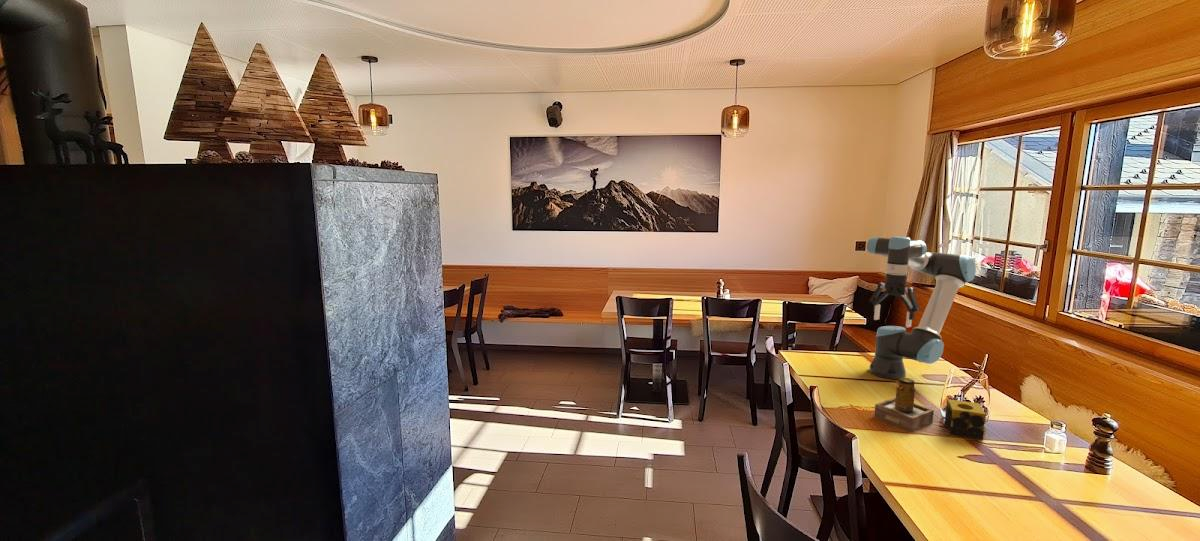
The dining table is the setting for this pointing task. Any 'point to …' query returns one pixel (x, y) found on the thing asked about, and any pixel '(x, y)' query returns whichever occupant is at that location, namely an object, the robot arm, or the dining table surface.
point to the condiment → (905, 397)
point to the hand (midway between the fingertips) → (892, 323)
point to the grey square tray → (903, 415)
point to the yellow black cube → (965, 419)
